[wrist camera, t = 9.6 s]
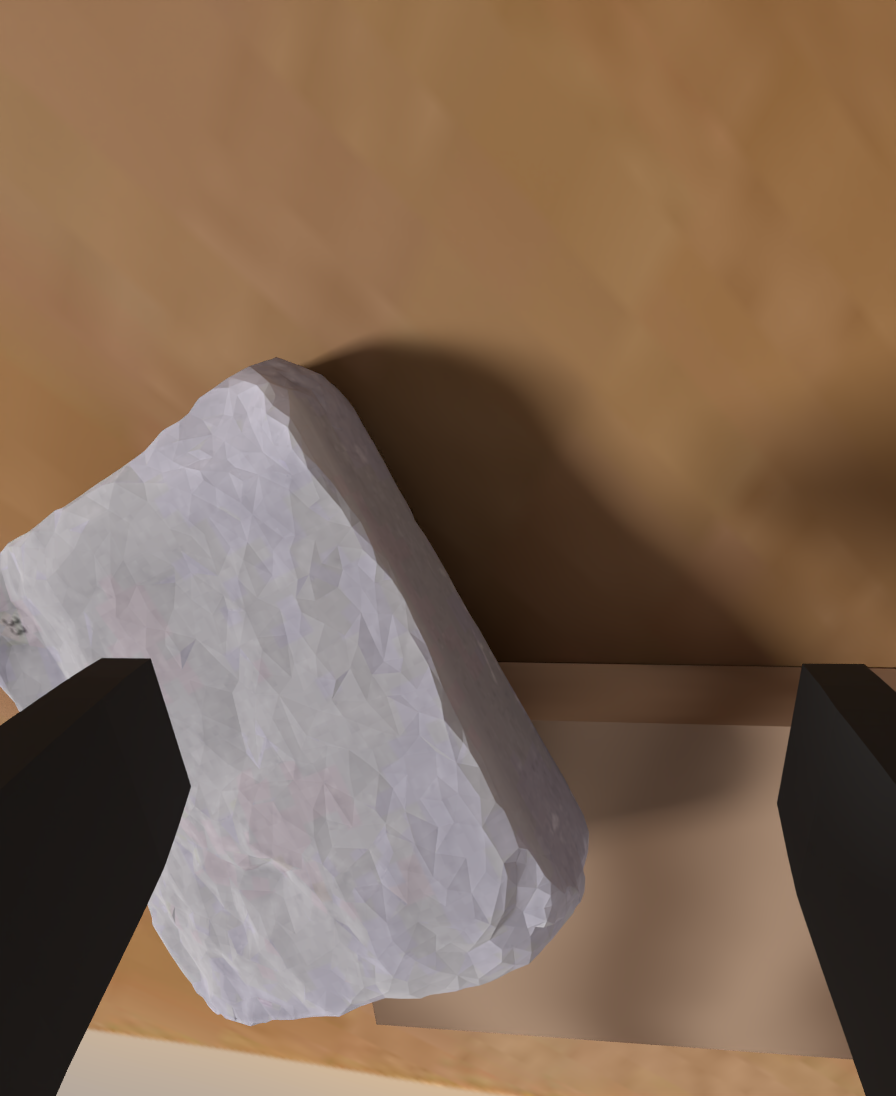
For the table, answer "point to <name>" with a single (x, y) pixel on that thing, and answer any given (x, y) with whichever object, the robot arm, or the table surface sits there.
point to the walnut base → (665, 870)
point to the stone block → (305, 710)
